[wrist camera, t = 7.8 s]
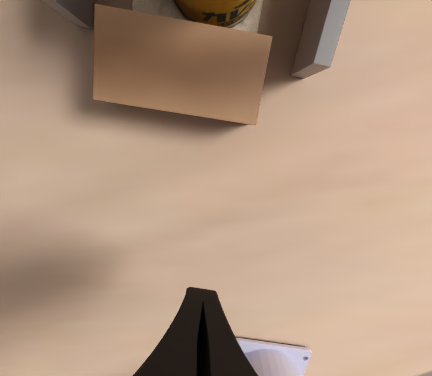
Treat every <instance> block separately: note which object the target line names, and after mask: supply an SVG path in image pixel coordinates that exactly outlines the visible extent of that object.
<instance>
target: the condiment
mask: <svg viewBox="0 0 432 376" xmlns="http://www.w3.org/2000/svg"><path fill="white" fill-rule="evenodd" d="M262 5H263V0H133V3H132V10H133V11H138V12H144V13H149V14H155V15H160V16H166V17H171V18H176V19H182V20H187V21H193V22H198V23H203V24H209V25H214V26H220V27H225V28H231V29H236V30H241V31H247V32H252V33H257V31H258V26H259V21H260V15H261V10H262Z"/></svg>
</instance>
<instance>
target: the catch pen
mask: <svg viewBox="0 0 432 376" xmlns="http://www.w3.org/2000/svg"><path fill="white" fill-rule="evenodd" d="M41 1H42V2H44V3H45V4H47V5H48V6H49V7H51V8H52V9H54V10H55V11H56V12H58V13H59V14H61V15H62V16H64V17H65V18H66V19H68V20H69V21H71V22H72V23H73V24H75V25H76V26H79V27H84V28H88V29H92V20H93V4H94V0H41ZM349 4H350V0H310V4H309V8H308V11H307V15H306V19H305V23H304V27H303V30H302V34H301V38H300V42H299V46H298V49H297V53H296V57H295V61H294V65H293V69H292V72H291V76H295V77H299V78H303V79H304V78H306V77H309V76H311V75H313V74H316V73H318V72H320V71H323V70H325V69H327V68H329V67H331V64H332V60H333V57H334V54H335V50H336V47H337V44H338V40H339V37H340V34H341V30H342V27H343V24H344V20H345V17H346V14H347V10H348V7H349Z"/></svg>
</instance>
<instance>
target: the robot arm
mask: <svg viewBox="0 0 432 376" xmlns="http://www.w3.org/2000/svg"><path fill="white" fill-rule="evenodd" d="M311 355H312V353H311V350H310V349H309V348H307V347H300V346H293V345H285V344H278V343H271V342H264V341H257V340H250V339H243V338H235V336H234V334H233V332H232V330H231V327H230V325H229V323H228V321H227V319H226V316H225V314H224V312H223V309H222V307H221V304H220V301H219V298H218V295H217V293H216V291H213V290H207V289H200V288H194V287H189V288H187V290H186V295H185V298H184V300H183V302H182V305H181V307H180V309H179V311H178V313H177V315H176V316H175V318H174V320H173V322H172V324H171V325H170V327H169V328H168V330H167V332H166V333H165V335H164V336H163V338H162V339H161V341H160V342H159V344H158V345H157V346H156V348H155V349H154V350H153V352H152V353H151V354H150V356H149V357H148V358H147V359H146V361H145V362H144V363H143V364H142V366H141V367H140V368H139V369H138V370H137V372H136V373H135V374H134V375H133V376H303V375H304V373H305V370H306V368H307V365H308V363H309V360H310V358H311Z"/></svg>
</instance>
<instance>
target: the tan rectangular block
mask: <svg viewBox="0 0 432 376" xmlns="http://www.w3.org/2000/svg"><path fill="white" fill-rule="evenodd" d="M272 37H273V36H269V35H263V34H258V33H252V32H247V31H241V30H236V29H231V28H225V27H220V26H214V25H209V24H203V23H198V22H193V21H187V20H182V19H176V18H171V17H166V16H160V15H155V14H149V13H144V12H138V11H133V10H128V9H122V8H117V7H111V6H106V5H100V4H95V17H94V75H93V99H94V100H99V101H105V102H110V103H116V104H122V105H129V106H135V107H141V108H148V109H154V110H160V111H166V112H173V113H179V114H185V115H192V116H198V117H204V118H211V119H217V120H223V121H229V122H236V123H242V124H249V125H256V122H257V116H258V111H259V106H260V101H261V95H262V90H263V85H264V80H265V74H266V69H267V64H268V58H269V53H270V48H271V43H272Z"/></svg>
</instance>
